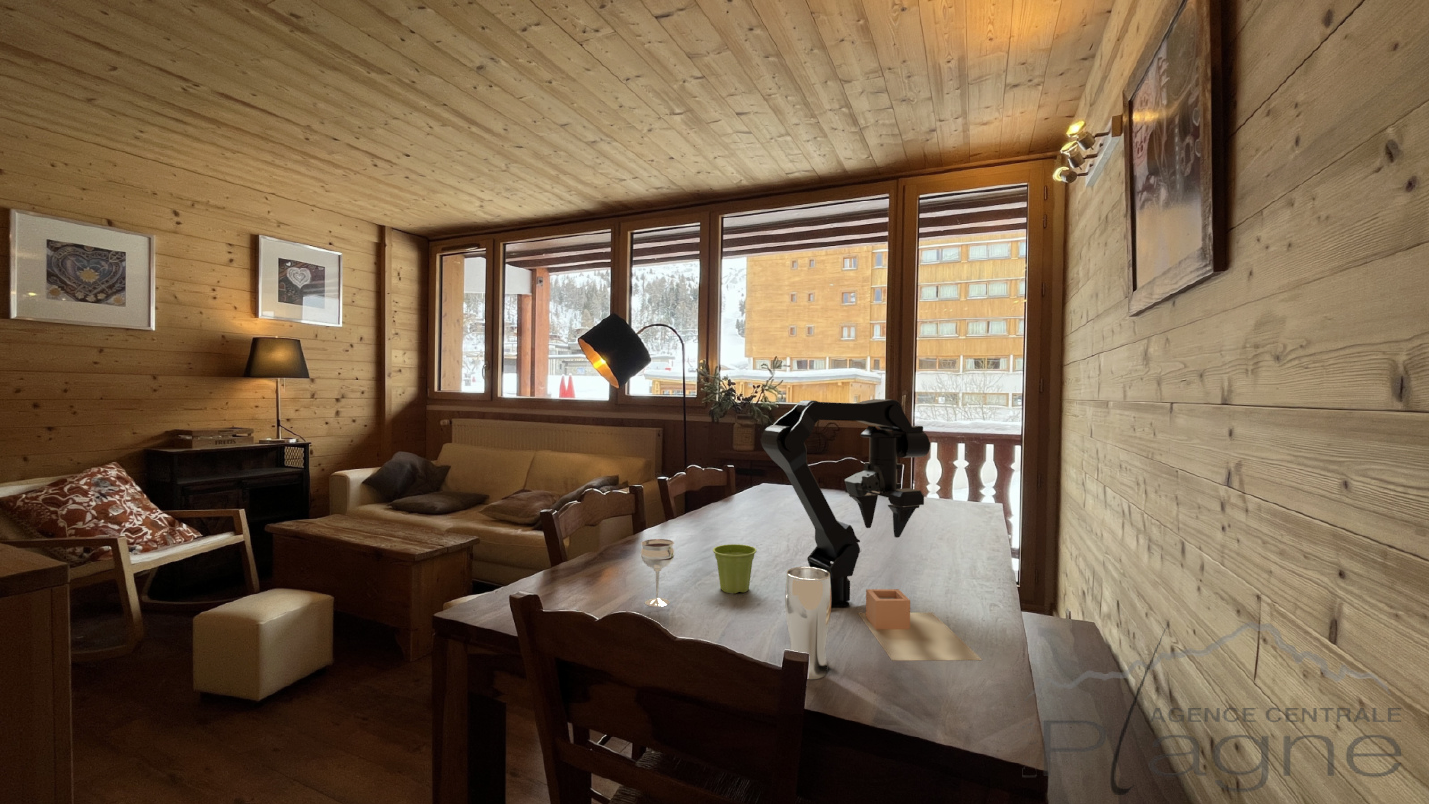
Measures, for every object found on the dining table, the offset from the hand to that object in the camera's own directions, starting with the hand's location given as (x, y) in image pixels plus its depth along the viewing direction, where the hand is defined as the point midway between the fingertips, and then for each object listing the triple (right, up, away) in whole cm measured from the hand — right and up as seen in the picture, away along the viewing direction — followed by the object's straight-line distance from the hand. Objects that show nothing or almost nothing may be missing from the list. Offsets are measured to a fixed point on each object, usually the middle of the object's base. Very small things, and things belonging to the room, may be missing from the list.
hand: (882, 532), depth 128 cm
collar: (-5, -12, -20) cm, 24 cm away
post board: (-1, -13, -25) cm, 28 cm away
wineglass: (-47, -13, -6) cm, 49 cm away
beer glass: (-21, -14, -35) cm, 43 cm away
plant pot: (-31, -13, +2) cm, 34 cm away
